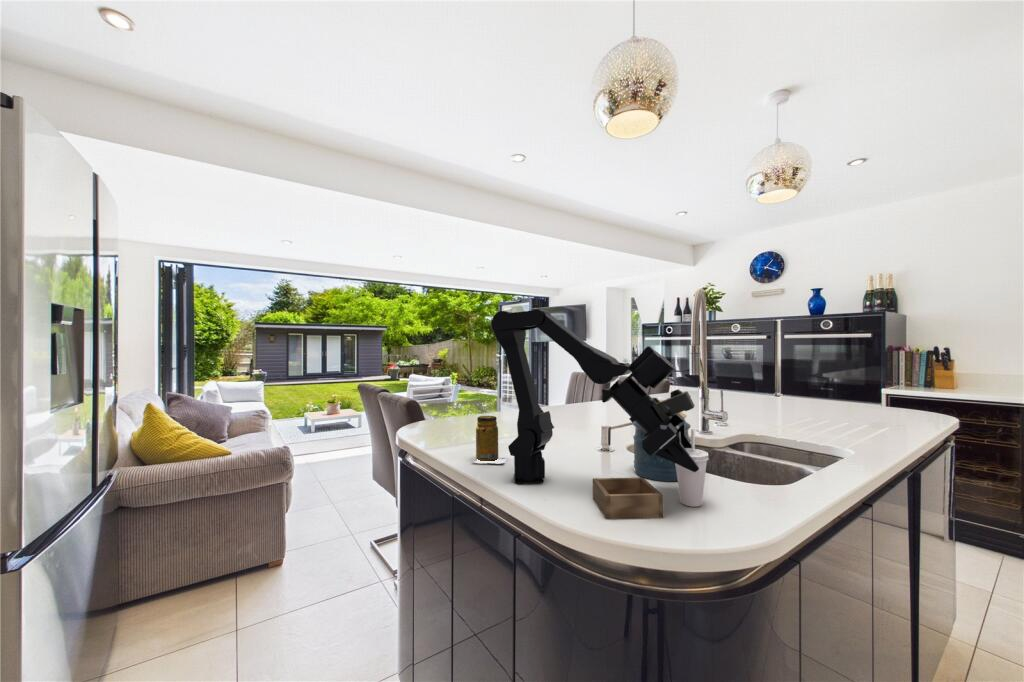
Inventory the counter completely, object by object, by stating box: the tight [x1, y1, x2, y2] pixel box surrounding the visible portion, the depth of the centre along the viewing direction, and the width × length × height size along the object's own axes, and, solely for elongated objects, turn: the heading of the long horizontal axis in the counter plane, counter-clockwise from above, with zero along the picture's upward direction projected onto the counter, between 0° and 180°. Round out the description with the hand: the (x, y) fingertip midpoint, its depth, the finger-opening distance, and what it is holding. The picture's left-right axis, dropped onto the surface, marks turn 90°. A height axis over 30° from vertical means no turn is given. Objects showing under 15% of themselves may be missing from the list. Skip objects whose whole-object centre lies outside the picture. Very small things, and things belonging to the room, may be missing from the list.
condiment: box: [475, 415, 499, 461], centre depth 111 cm, size 7×8×12 cm
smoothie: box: [675, 428, 710, 508], centre depth 79 cm, size 6×6×14 cm
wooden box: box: [592, 476, 665, 520], centre depth 77 cm, size 10×10×4 cm
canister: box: [632, 399, 692, 482], centre depth 98 cm, size 13×13×18 cm
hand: (698, 466), depth 78 cm, fingers closed on smoothie, 6 cm apart
